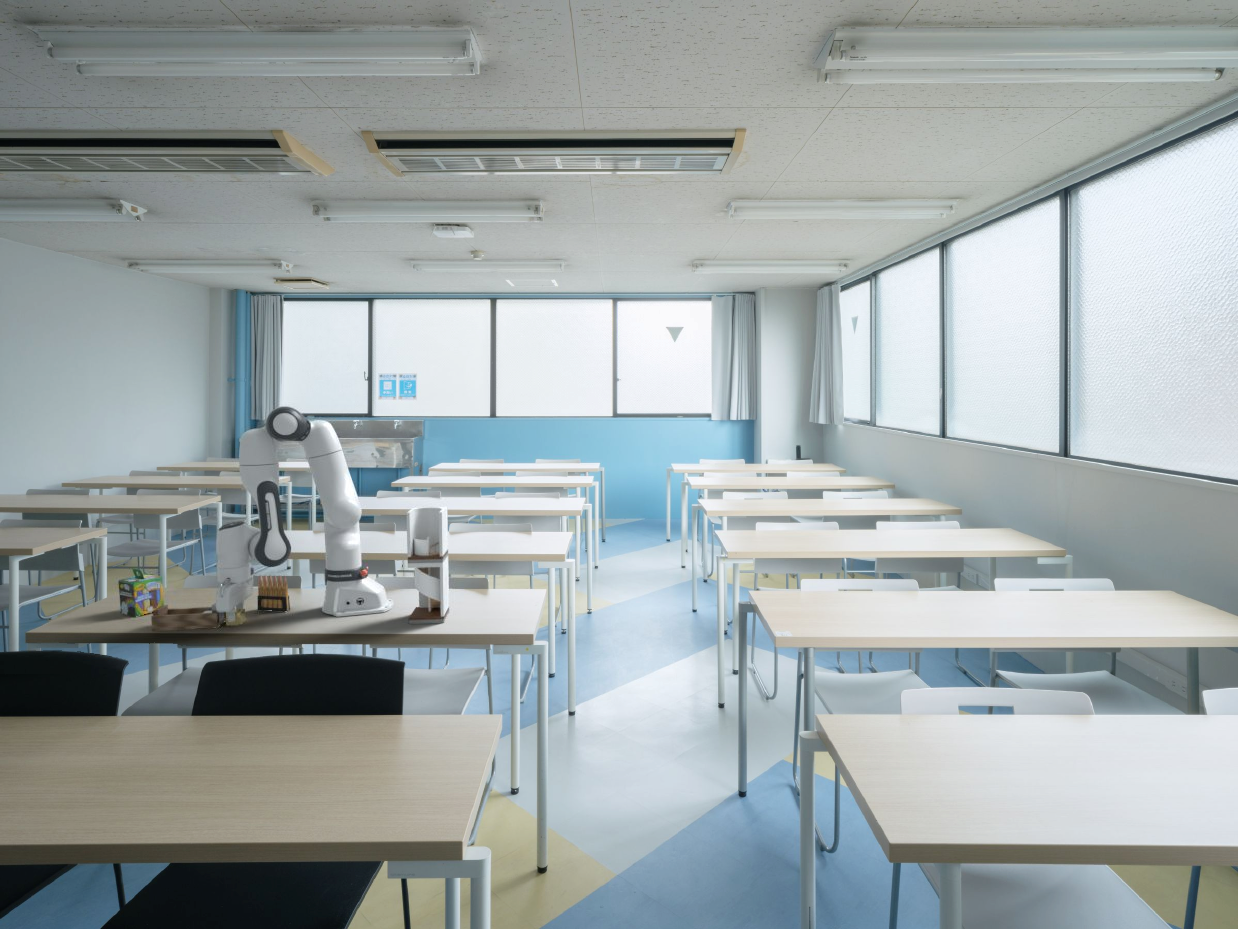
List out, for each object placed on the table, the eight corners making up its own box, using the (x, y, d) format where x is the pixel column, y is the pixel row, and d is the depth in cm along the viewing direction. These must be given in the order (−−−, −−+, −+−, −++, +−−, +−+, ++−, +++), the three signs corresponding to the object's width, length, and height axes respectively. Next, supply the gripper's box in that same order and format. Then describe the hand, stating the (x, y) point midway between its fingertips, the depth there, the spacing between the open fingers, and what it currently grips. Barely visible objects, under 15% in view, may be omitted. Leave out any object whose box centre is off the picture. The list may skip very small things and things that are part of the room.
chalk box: (165, 610, 226) (162, 566, 225) (135, 618, 218) (132, 572, 217) (149, 606, 230) (147, 563, 229) (119, 614, 222) (116, 569, 221)
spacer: (245, 621, 215) (244, 608, 214) (240, 625, 211) (240, 612, 210) (231, 621, 214) (231, 609, 214) (226, 625, 210) (226, 613, 210)
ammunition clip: (290, 610, 226) (289, 575, 225) (286, 612, 225) (285, 576, 224) (261, 609, 228) (259, 573, 227) (257, 610, 226) (255, 575, 225)
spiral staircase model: (416, 613, 223) (413, 507, 221) (449, 612, 224) (447, 507, 222) (409, 623, 212) (406, 512, 209) (443, 622, 213) (441, 512, 210)
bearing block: (227, 620, 216) (226, 601, 215) (216, 628, 208) (216, 608, 207) (165, 623, 213) (164, 604, 212) (152, 631, 205) (150, 611, 204)
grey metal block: (224, 618, 213) (223, 601, 213) (219, 622, 210) (218, 605, 209) (207, 619, 213) (206, 602, 212) (201, 623, 209) (200, 605, 208)
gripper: (231, 582, 201) (233, 628, 202) (256, 567, 222) (258, 608, 223) (208, 583, 200) (210, 629, 201) (235, 567, 220) (237, 609, 222)
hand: (235, 618), depth 212 cm, fingers closed on spacer, 4 cm apart
